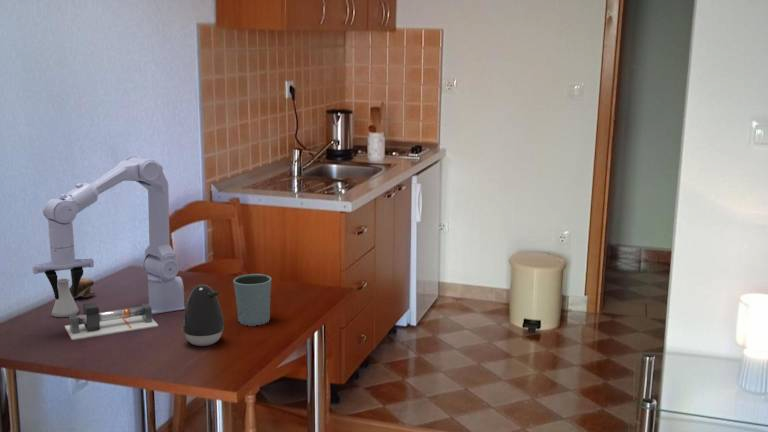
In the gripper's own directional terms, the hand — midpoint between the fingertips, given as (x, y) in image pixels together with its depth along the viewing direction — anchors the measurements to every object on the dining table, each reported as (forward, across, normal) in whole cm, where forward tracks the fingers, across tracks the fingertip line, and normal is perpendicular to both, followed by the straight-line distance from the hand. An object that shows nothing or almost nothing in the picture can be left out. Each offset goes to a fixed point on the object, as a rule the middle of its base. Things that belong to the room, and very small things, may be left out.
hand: (65, 297), depth 215 cm
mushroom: (+10, -9, -31) cm, 34 cm away
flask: (+10, -2, -17) cm, 20 cm away
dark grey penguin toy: (+10, -29, +23) cm, 38 cm away
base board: (+10, -11, 0) cm, 15 cm away
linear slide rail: (+10, -11, 0) cm, 15 cm away
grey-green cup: (+10, -46, +13) cm, 49 cm away
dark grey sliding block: (+10, -6, 0) cm, 12 cm away
